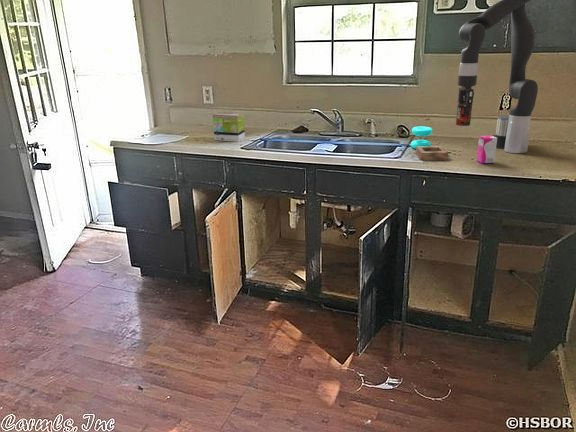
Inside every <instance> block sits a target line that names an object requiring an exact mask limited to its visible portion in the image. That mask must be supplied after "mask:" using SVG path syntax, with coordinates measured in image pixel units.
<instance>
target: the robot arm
mask: <svg viewBox="0 0 576 432" xmlns="http://www.w3.org/2000/svg"><path fill="white" fill-rule="evenodd" d="M528 2H531V0H499V1H498V2H495V3H494V4H493V5H491V6H490V7H488V8H487V9H486V10H485V11H484V12H482V13H481V14H479V15H478V16H476V17H474V18H472V19H471V20H469V21H467V22H465V23H464V24H463V25H462V26H461V27H460V28H459V31H458V38H459V39H460V40H461V41H462V42H465V43H467V42H468V45H467V47H465V48H463V49H462V50H461V53H460V61H459V62H460V63H459V67H458V76H457V86H458V90H459V89H463V90H465V91H466V92H465V96H467V98H466V99H465V96H463V101H464V115H465V116H467V115H469V111H470V106H472V107H473V102H474V96H475V91H473V92H472V89H473V88H472V87H475V86H476V85H477V80H478V71H479V53H480V51H481V48H482V45H483V43H484V40H485V37H486V31H487V30H490V29H491V28H493V27H494V26H495V25H497V24H499V22H500V21H502V20H503V19H504V18H505V17H506V16H508V15H510V20H511V21H510V22H511V33H510V35H511V38H510V40H511V41H510V44H511V45H510V46H511V47H510V50H511V53H510V54H511V58H510V74H509V75H510V76H509V81H508V82H509V83H508V92H509V96H510V98H512V99H515V100H517V104H516V105H515V106H514V107H511V108H510V109H509V114H508V116H509V119H508V126H507V133H506V140H505V147H504V149H503V151H504V152H506V153H509V154H524V153H528V149H529V142H530V135H531V132H530V126H531V125H530V124H531V117H532V114H533V113H532V112H533V110H534V108H535V105H536V103H537V102H536V101H537V98H538V97H537V96H538V92H539V91H538V90H539V87H538V83H537V81H535V80H534V79H528V78H526V67H527V64H528V62H529V60H530V58H531V56H532V54H533V52H534V49H535V41H536V40H535V33H536V32H535V30H534V27H533V25H532V23H531V21H530V19H529V17H528V15H527V11H526V4H527V3H528ZM459 87H460V88H459ZM468 101H469V103H468Z"/></svg>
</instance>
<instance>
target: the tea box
mask: <svg viewBox="0 0 576 432" xmlns="http://www.w3.org/2000/svg"><path fill="white" fill-rule="evenodd" d="M212 124H213V126H212V127H213V136H214V141H221V142H223V141H225V142H237V143H239V142H241V141H243V140H245V138H246V137H245V136H246V132H245V131H246V129H245V113H244V112H232V111H231V112H229V111H227V112H226V111H220V112H217V113H215V114H212Z"/></svg>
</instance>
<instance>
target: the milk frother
mask: <svg viewBox="0 0 576 432" xmlns="http://www.w3.org/2000/svg"><path fill="white" fill-rule="evenodd" d="M496 117H497V122H496V127H495V129H496V131H495V134H493V135H490V136H494V137H496V138H497V144H496V149H503V150H504V147H505V140H506V133H507V126H508V119H509V115H498V116H496Z"/></svg>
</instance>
